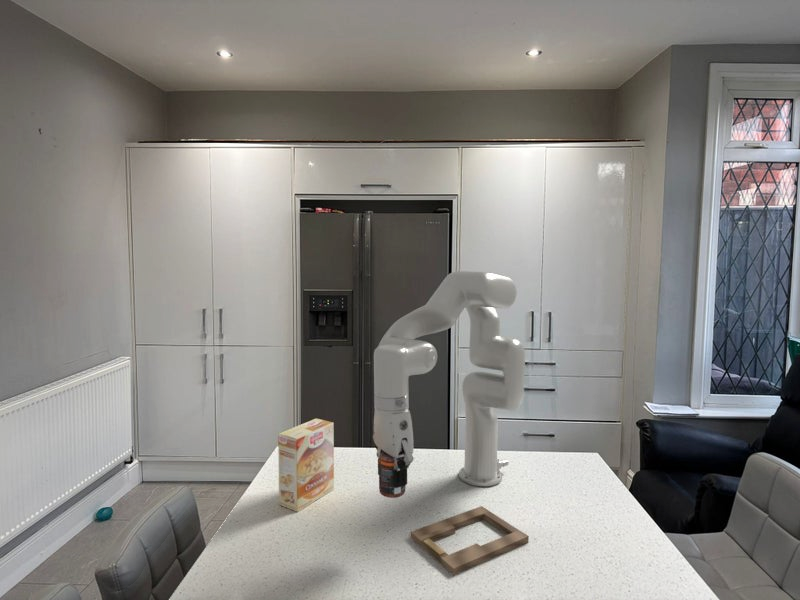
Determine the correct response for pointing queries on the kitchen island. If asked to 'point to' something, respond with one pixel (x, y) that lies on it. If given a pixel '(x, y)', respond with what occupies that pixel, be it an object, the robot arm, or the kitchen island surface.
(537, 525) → the kitchen island surface
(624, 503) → the kitchen island surface
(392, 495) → the supplement bottle
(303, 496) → the coffeecake box
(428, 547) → the wooden frame
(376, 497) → the kitchen island surface
